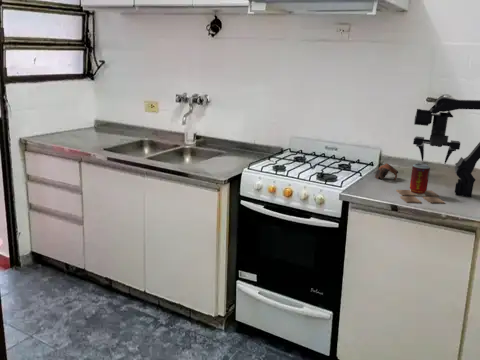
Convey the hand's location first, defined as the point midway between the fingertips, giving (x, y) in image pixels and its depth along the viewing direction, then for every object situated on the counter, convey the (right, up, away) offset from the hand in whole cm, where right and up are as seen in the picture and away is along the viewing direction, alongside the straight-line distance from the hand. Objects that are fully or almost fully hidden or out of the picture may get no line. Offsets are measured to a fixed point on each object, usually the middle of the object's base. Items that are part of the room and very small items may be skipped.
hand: (433, 162), depth 219 cm
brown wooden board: (-8, -14, -2) cm, 16 cm away
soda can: (-8, -13, -2) cm, 15 cm away
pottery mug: (-16, -7, +20) cm, 26 cm away
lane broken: (-9, -16, -11) cm, 22 cm away
